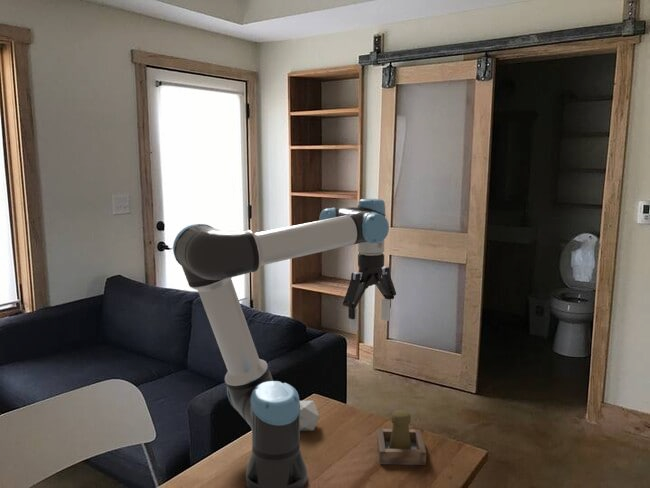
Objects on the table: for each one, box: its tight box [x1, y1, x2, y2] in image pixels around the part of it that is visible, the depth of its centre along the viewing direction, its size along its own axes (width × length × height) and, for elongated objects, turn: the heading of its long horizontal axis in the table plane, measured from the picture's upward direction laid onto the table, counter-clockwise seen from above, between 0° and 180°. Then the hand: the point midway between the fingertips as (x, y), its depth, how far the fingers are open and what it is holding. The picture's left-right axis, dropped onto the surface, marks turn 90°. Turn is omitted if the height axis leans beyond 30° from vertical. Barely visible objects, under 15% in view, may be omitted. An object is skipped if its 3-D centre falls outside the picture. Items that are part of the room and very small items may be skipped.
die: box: [299, 400, 320, 432], centre depth 158 cm, size 8×9×10 cm
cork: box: [389, 409, 412, 449], centre depth 145 cm, size 6×6×11 cm
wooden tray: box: [376, 428, 427, 466], centre depth 146 cm, size 12×12×4 cm
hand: (370, 324), depth 157 cm, fingers open, 13 cm apart
